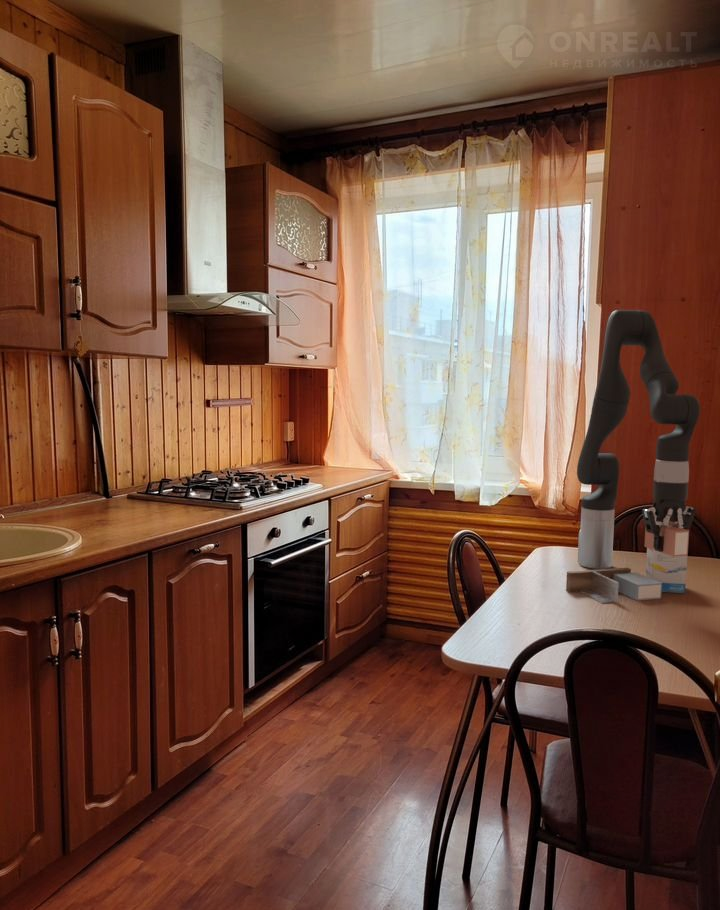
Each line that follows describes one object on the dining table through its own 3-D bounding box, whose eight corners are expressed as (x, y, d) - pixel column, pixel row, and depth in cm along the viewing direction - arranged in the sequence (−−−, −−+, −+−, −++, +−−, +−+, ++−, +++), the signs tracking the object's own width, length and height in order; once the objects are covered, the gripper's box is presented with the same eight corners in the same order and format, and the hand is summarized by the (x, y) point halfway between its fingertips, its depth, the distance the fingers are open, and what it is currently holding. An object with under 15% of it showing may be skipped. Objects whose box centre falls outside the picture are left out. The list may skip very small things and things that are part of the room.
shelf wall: (566, 590, 181) (566, 571, 181) (626, 585, 186) (627, 567, 185) (569, 592, 180) (570, 573, 179) (629, 587, 184) (630, 569, 184)
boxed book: (644, 546, 172) (645, 522, 171) (658, 545, 173) (659, 521, 172) (673, 556, 162) (674, 531, 161) (687, 555, 163) (689, 530, 162)
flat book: (612, 588, 183) (613, 574, 183) (635, 587, 185) (636, 572, 184) (637, 600, 173) (637, 584, 173) (661, 598, 175) (662, 583, 175)
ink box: (686, 593, 180) (688, 549, 178) (651, 591, 181) (653, 547, 180) (677, 584, 188) (680, 541, 187) (644, 582, 190) (646, 539, 188)
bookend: (579, 591, 181) (580, 572, 180) (594, 590, 182) (594, 571, 181) (602, 603, 171) (603, 583, 170) (617, 602, 172) (618, 582, 171)
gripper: (684, 476, 170) (680, 545, 172) (634, 477, 166) (631, 548, 168) (707, 480, 163) (703, 552, 165) (656, 482, 159) (652, 556, 161)
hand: (666, 549), depth 167 cm, fingers closed on boxed book, 4 cm apart
